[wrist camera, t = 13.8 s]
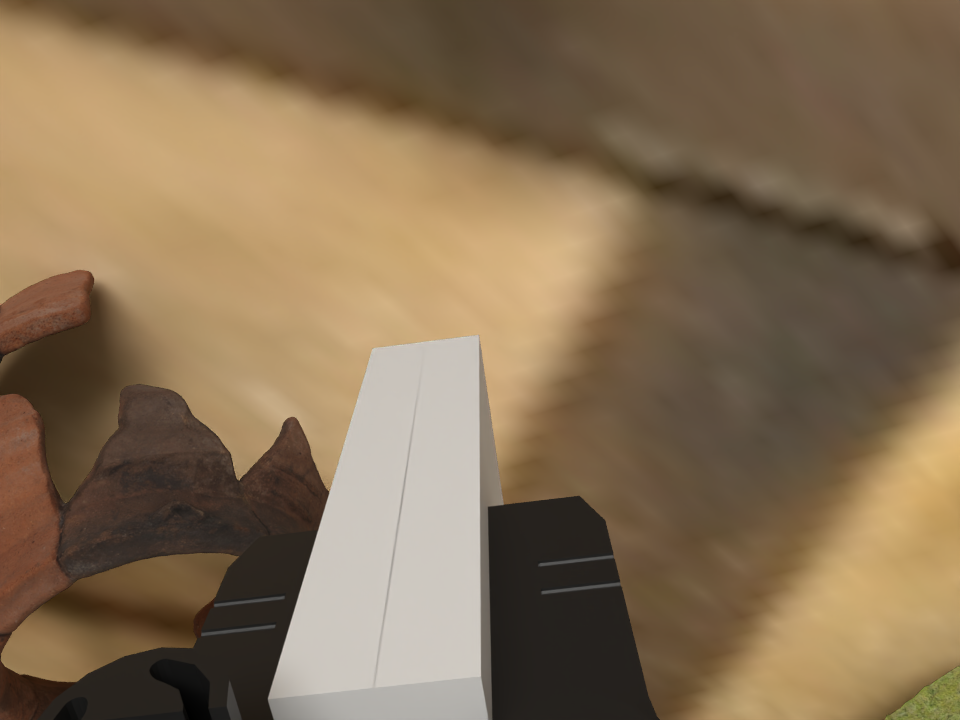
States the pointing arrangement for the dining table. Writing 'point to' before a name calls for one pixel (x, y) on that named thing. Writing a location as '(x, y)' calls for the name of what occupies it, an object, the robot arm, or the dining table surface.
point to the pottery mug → (125, 489)
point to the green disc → (934, 701)
